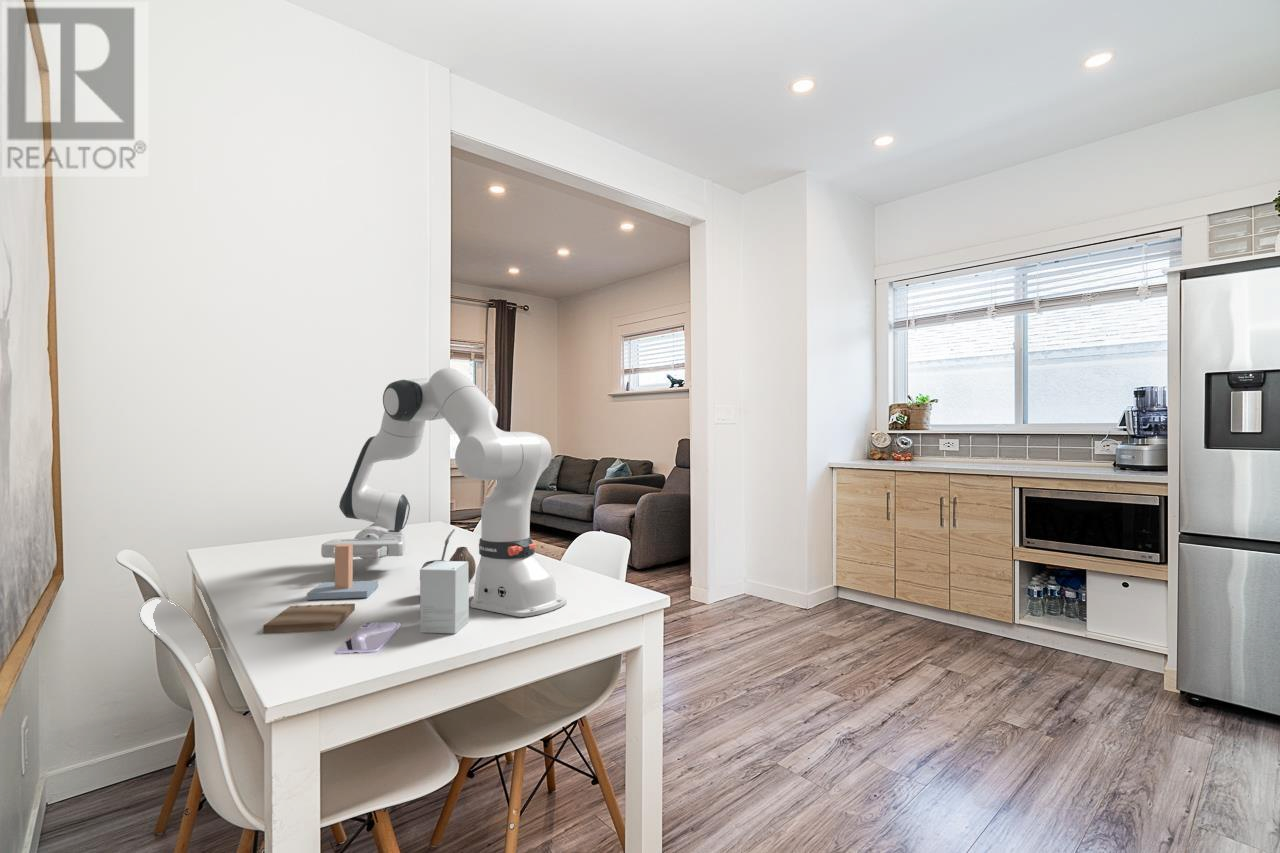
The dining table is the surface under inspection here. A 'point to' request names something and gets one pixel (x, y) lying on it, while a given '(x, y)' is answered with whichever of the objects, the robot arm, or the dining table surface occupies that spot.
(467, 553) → the vase
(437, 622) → the supplement box
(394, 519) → the robot arm
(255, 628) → the dining table surface
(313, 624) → the board
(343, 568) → the stub
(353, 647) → the mobile phone
